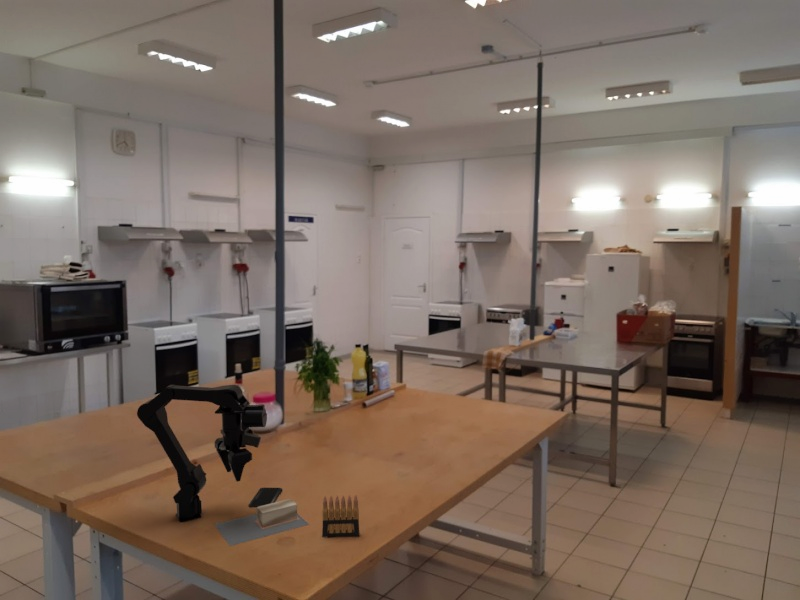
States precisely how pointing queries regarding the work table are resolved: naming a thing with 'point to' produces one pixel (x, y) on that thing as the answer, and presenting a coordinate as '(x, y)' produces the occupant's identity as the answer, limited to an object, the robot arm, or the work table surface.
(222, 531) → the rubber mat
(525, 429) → the work table surface
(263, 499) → the phone
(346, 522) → the ammunition clip
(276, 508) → the ash block
